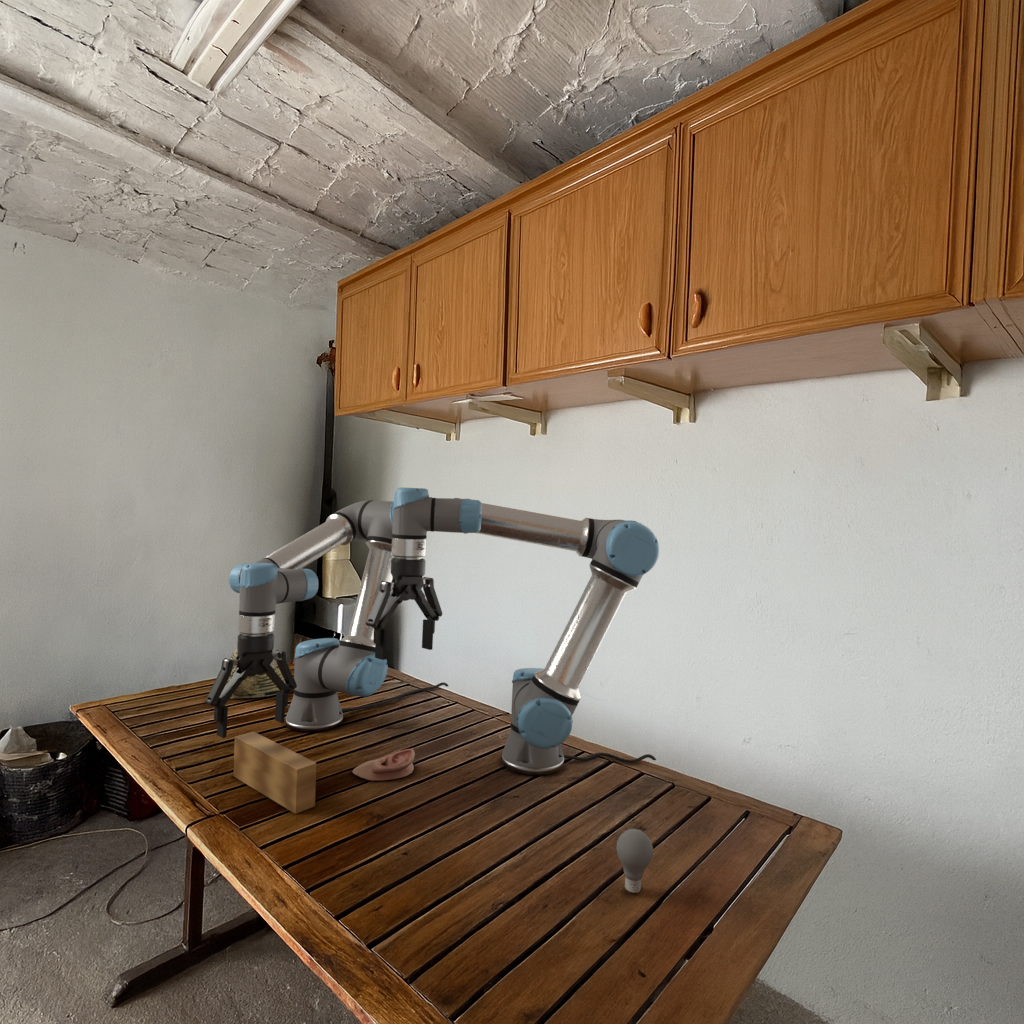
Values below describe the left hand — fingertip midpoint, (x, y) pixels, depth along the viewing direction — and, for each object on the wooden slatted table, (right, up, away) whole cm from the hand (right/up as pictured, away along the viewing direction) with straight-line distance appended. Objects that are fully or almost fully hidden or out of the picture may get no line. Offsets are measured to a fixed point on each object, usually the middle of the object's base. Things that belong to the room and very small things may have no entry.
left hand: (251, 728), depth 141 cm
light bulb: (+78, -15, -35) cm, 87 cm away
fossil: (-23, -9, +57) cm, 63 cm away
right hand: (+34, +17, -1) cm, 38 cm away
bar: (+6, -12, -5) cm, 14 cm away
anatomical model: (+28, -12, +7) cm, 31 cm away
